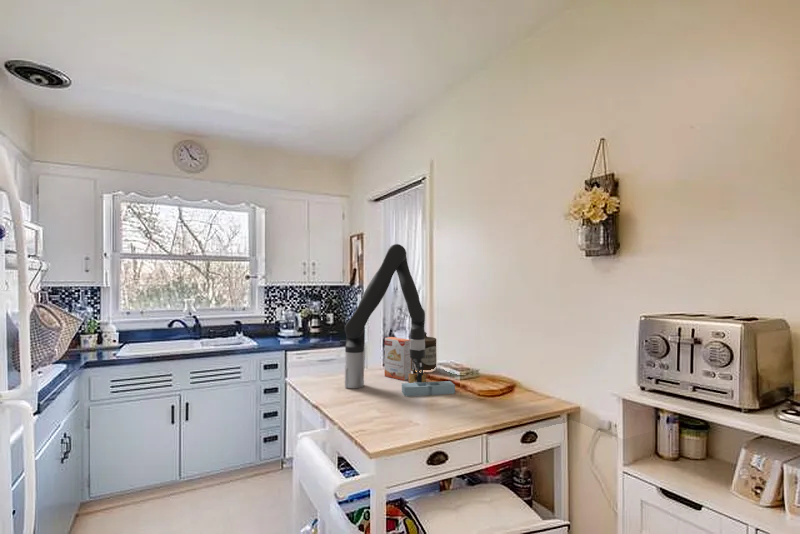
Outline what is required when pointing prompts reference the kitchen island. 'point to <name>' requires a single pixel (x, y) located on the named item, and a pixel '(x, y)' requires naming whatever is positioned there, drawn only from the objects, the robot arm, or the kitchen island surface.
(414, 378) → the clip
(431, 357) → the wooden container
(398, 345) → the cracker box
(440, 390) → the light blue long block
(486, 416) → the kitchen island surface
